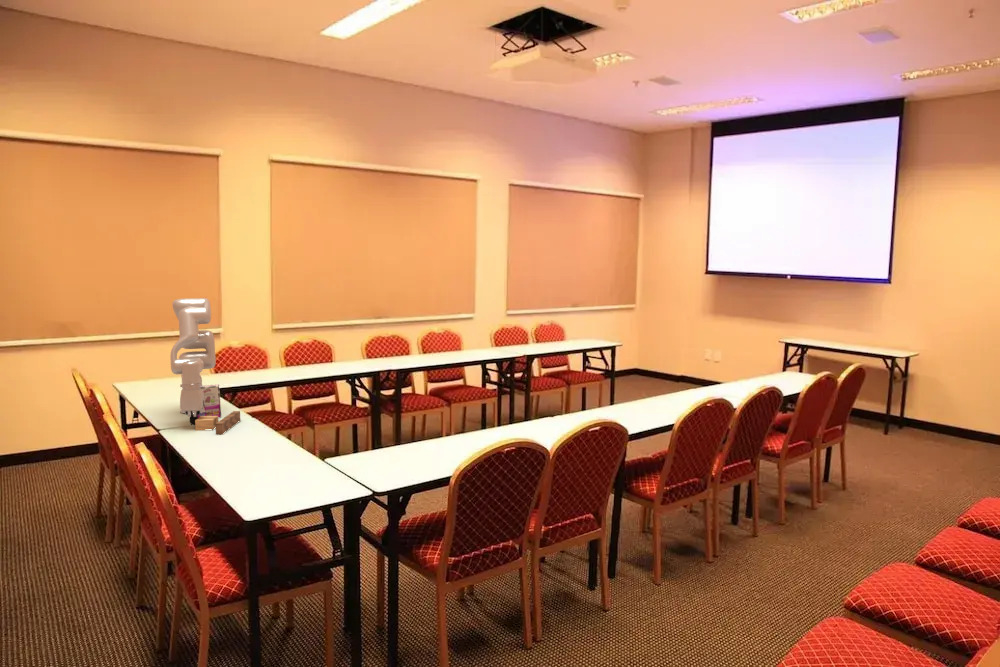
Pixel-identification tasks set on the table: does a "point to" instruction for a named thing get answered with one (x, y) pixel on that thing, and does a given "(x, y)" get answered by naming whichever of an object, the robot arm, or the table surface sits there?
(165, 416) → the table surface
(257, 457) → the table surface
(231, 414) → the rail
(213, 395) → the candy bar box
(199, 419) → the block
